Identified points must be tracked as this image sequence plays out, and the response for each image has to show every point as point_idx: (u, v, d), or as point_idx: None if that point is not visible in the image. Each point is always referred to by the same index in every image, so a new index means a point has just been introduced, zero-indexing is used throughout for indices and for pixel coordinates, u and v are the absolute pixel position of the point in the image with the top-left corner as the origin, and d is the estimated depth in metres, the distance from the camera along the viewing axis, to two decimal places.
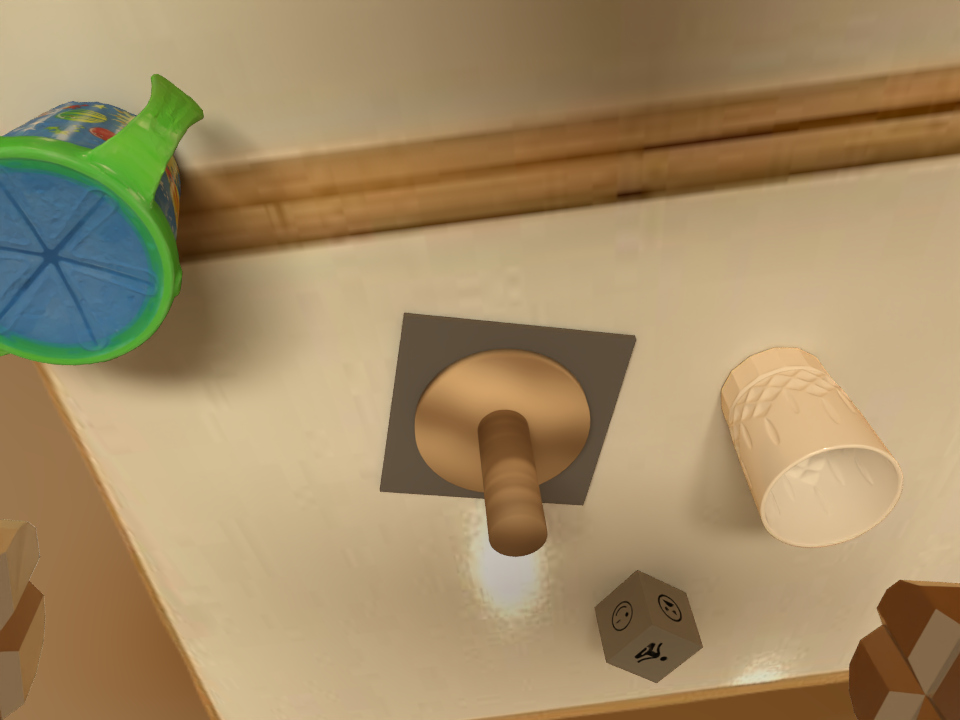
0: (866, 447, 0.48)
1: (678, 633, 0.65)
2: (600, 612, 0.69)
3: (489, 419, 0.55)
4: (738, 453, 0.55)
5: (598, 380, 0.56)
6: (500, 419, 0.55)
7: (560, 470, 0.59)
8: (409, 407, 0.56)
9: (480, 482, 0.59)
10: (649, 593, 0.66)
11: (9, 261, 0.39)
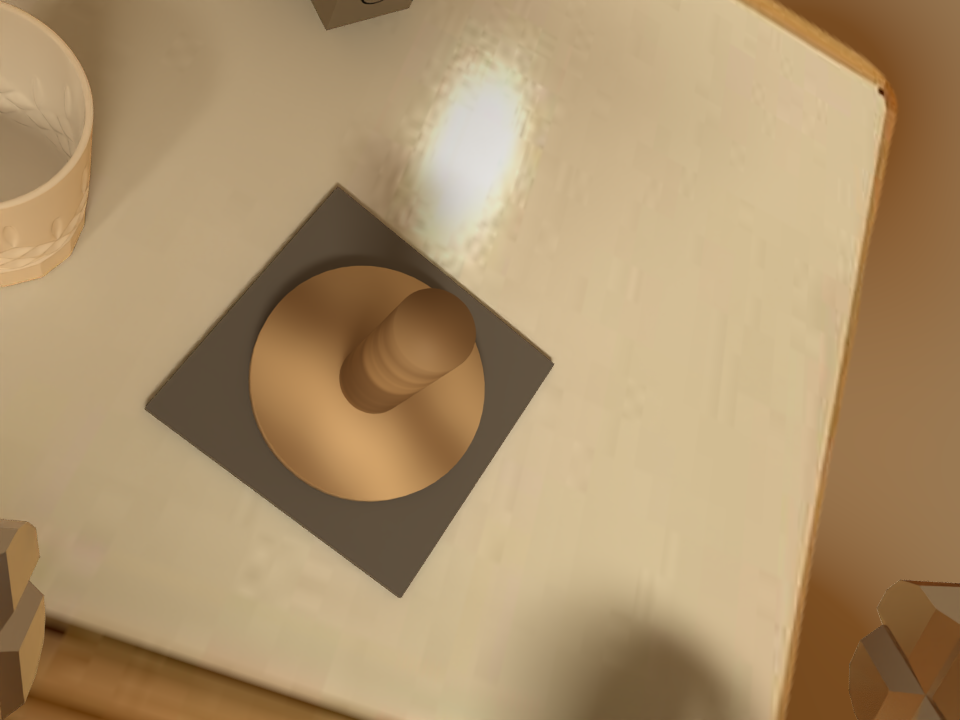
0: None
1: None
2: (405, 1, 0.48)
3: (380, 411, 0.41)
4: (85, 192, 0.36)
5: (223, 371, 0.40)
6: (367, 408, 0.40)
7: (337, 271, 0.42)
8: (461, 465, 0.43)
9: None
10: None
11: None
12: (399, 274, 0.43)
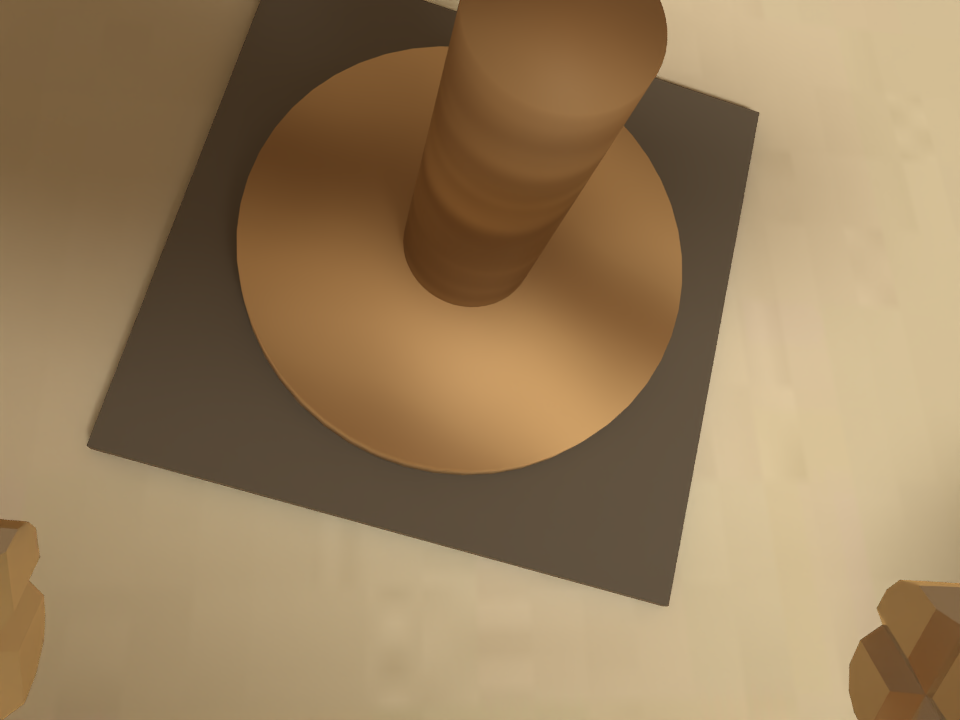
0: None
1: None
2: None
3: (503, 293, 0.21)
4: None
5: (202, 331, 0.21)
6: (479, 295, 0.21)
7: (331, 84, 0.23)
8: (676, 338, 0.24)
9: None
10: None
11: None
12: (440, 51, 0.23)
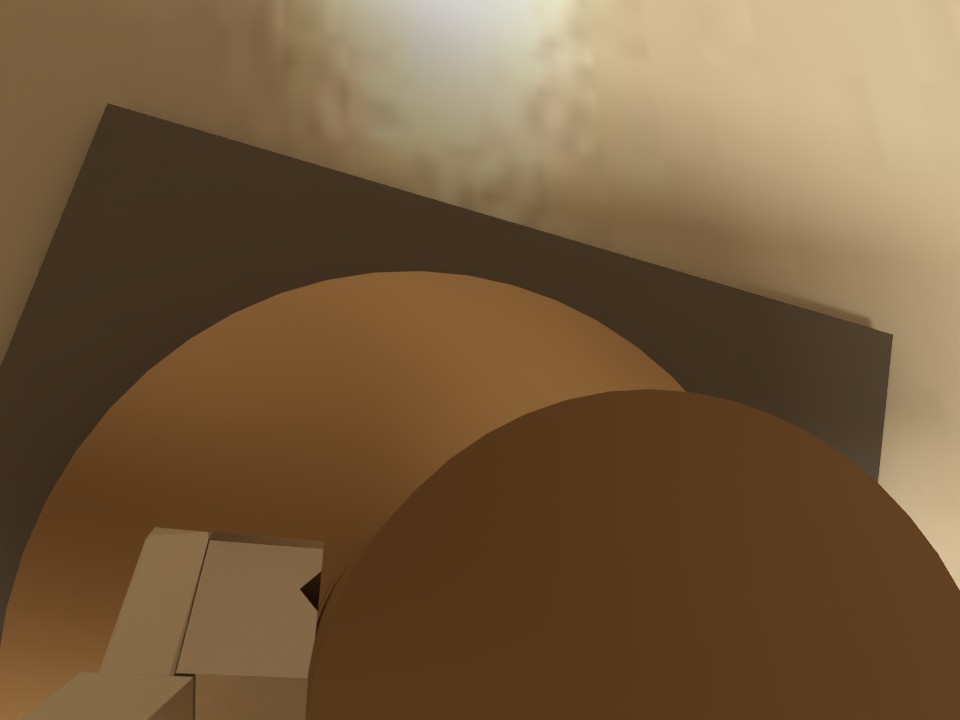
0: None
1: None
2: None
3: None
4: None
5: None
6: None
7: (182, 357, 0.13)
8: None
9: (543, 350, 0.14)
10: None
11: None
12: (376, 281, 0.14)
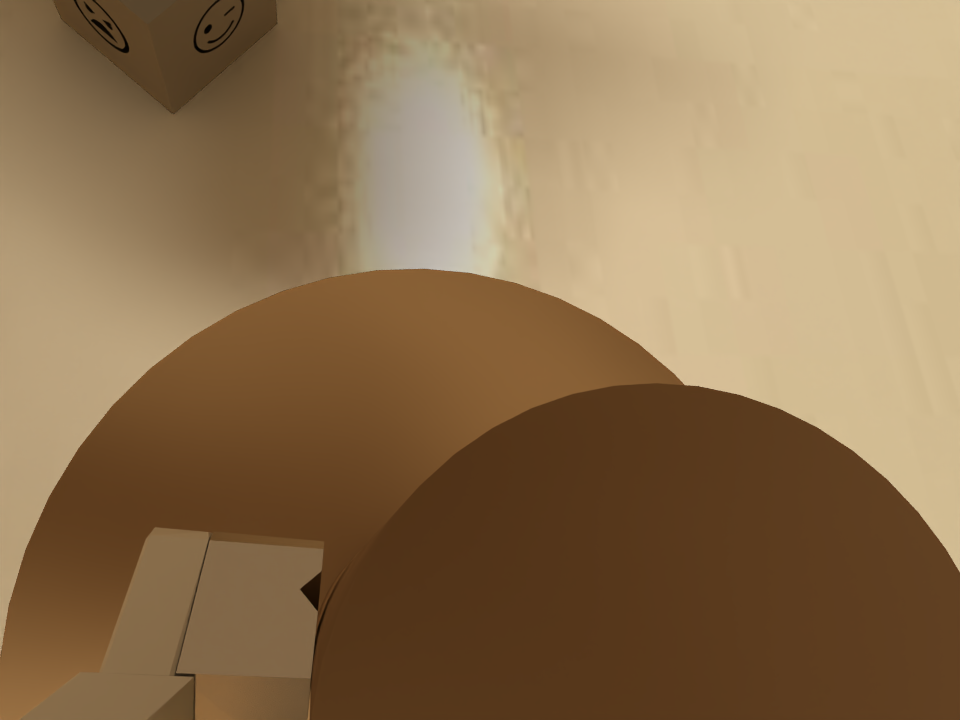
0: None
1: None
2: (266, 17, 0.31)
3: None
4: None
5: None
6: None
7: (184, 355, 0.13)
8: None
9: (545, 348, 0.14)
10: (148, 70, 0.28)
11: None
12: (378, 278, 0.14)
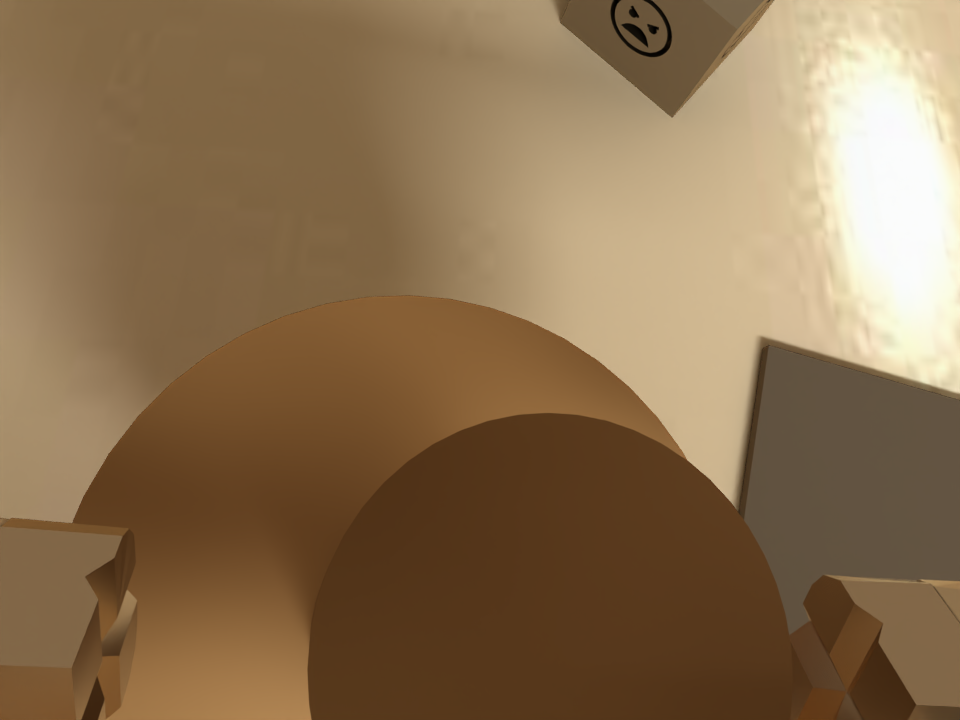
0: None
1: None
2: (755, 23, 0.31)
3: None
4: None
5: None
6: None
7: (200, 372, 0.15)
8: None
9: (516, 365, 0.16)
10: (679, 73, 0.29)
11: None
12: (369, 304, 0.16)
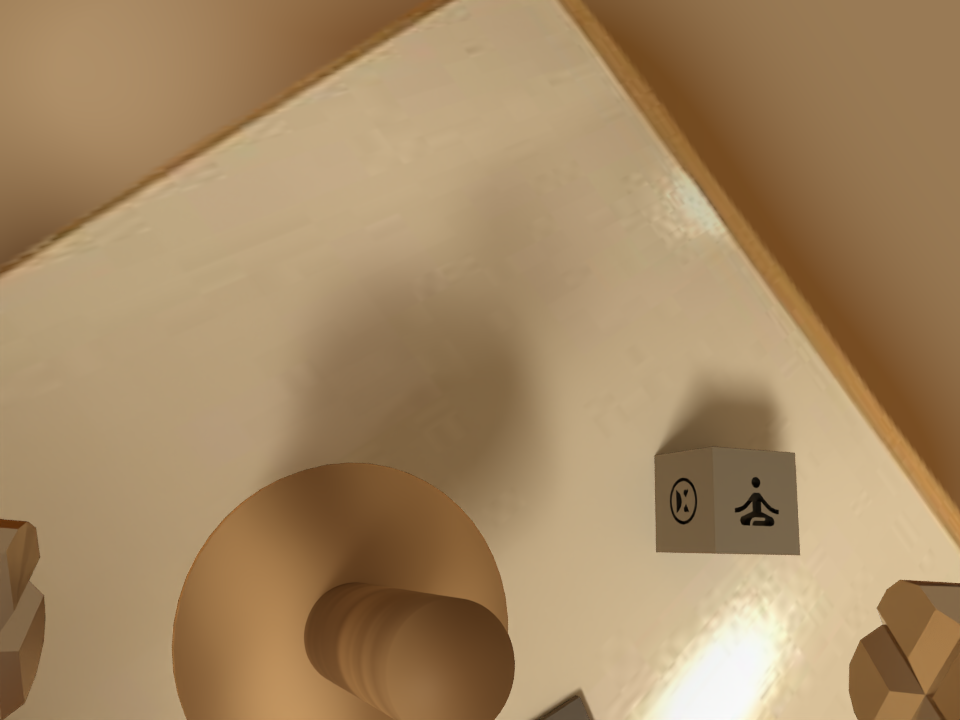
0: None
1: (710, 496, 0.43)
2: None
3: None
4: None
5: None
6: (323, 675, 0.28)
7: (381, 470, 0.31)
8: None
9: (479, 586, 0.31)
10: (677, 539, 0.45)
11: None
12: (456, 509, 0.31)
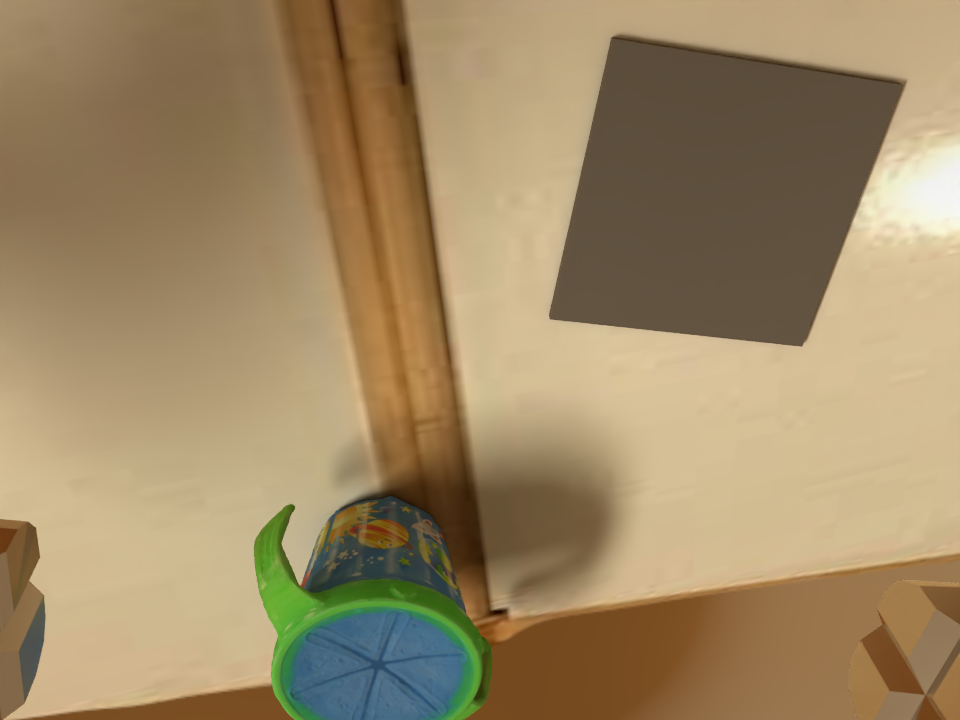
0: None
1: None
2: None
3: None
4: None
5: (675, 85, 0.41)
6: None
7: None
8: (678, 314, 0.47)
9: None
10: None
11: (382, 689, 0.47)
12: None
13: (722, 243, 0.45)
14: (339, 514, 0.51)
